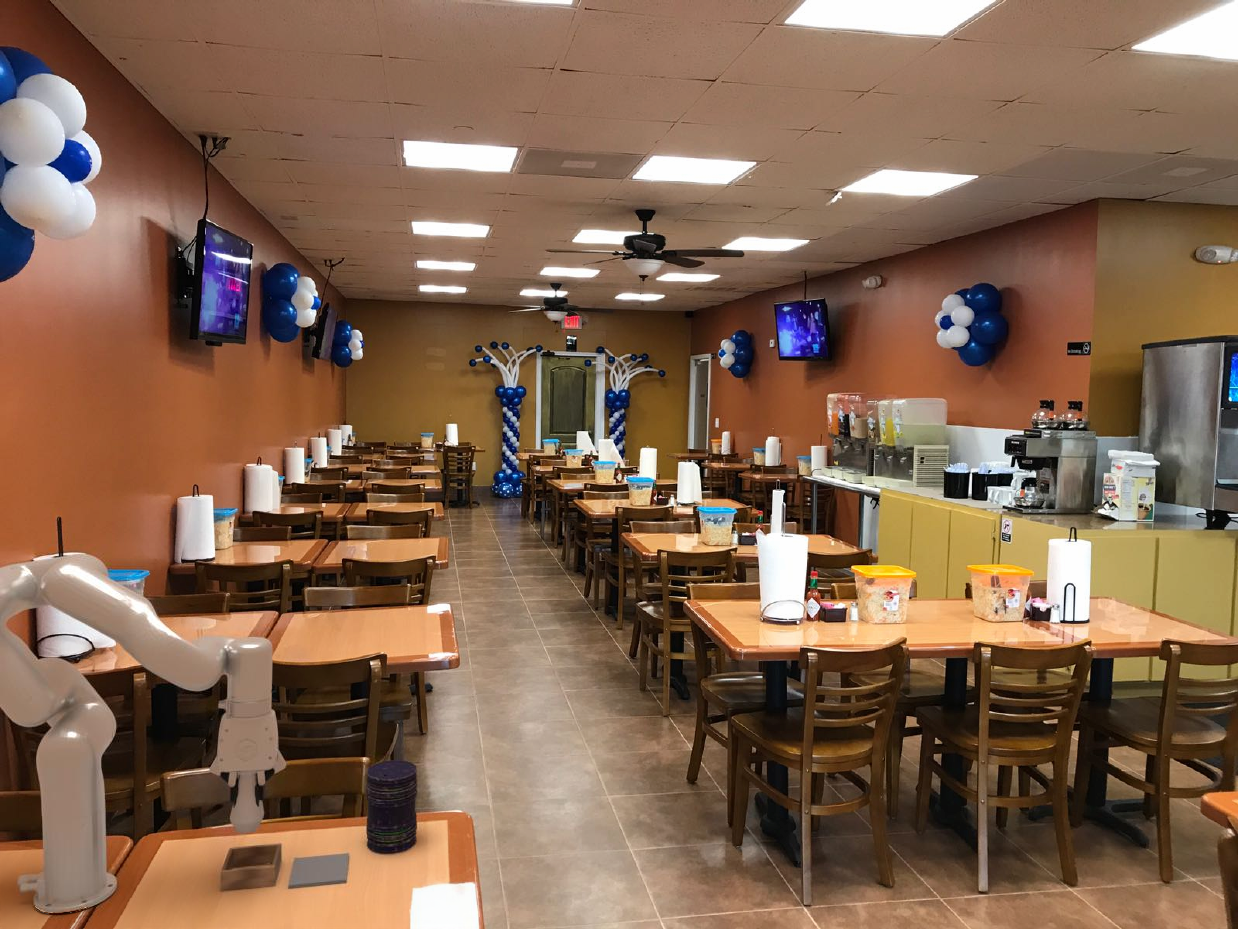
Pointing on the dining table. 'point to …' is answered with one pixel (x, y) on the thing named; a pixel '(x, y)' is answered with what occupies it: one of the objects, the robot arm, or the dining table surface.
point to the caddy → (251, 875)
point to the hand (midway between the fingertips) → (247, 803)
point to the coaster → (319, 870)
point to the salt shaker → (247, 804)
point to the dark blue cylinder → (391, 806)
